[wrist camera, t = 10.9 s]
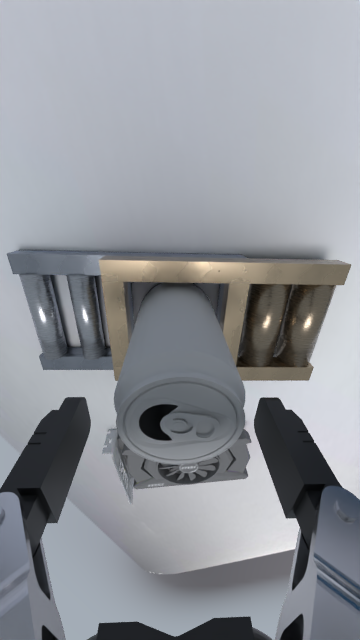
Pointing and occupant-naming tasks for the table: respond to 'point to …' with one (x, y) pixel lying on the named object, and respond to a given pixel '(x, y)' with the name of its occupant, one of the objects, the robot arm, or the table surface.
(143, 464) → the graphics card
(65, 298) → the table surface
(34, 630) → the robot arm
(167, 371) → the beverage can
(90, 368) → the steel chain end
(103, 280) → the frame
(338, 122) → the table surface
